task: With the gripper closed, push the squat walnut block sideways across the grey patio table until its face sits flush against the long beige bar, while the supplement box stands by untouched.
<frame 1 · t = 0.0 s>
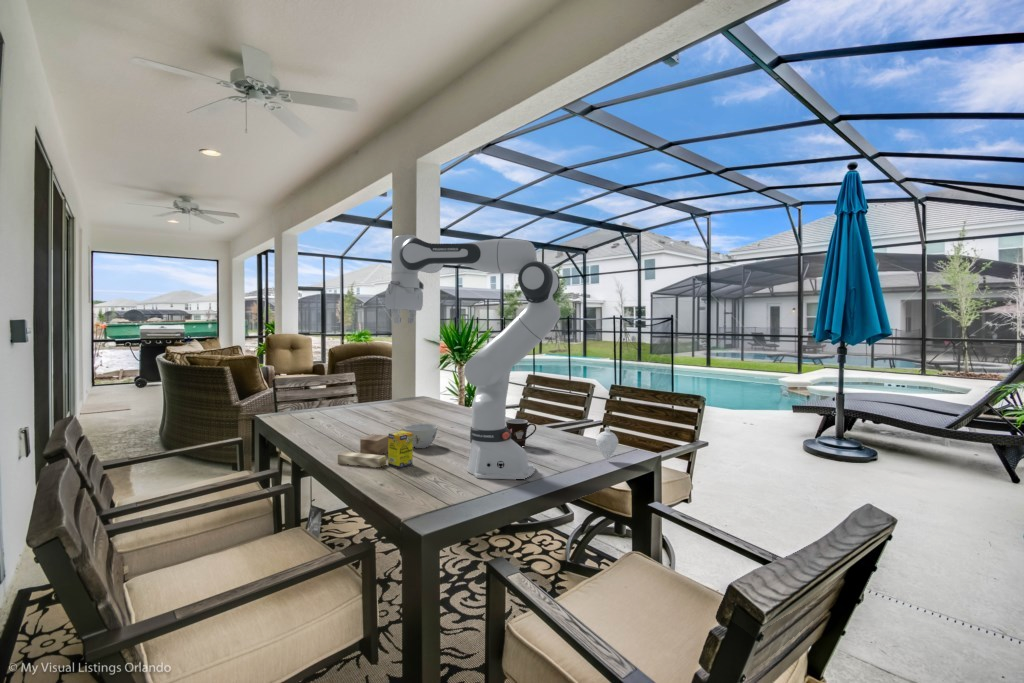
hand: (404, 323, 160), 48 cm above the table, tool pointing down, fingers open, 8 cm apart
supplement box: (400, 465, 158), on the table
coffee mug: (520, 447, 183), on the table
block: (374, 453, 172), on the table
beige long bar: (361, 463, 159), on the table
spinning top: (606, 462, 164), on the table
teacup: (418, 447, 182), on the table
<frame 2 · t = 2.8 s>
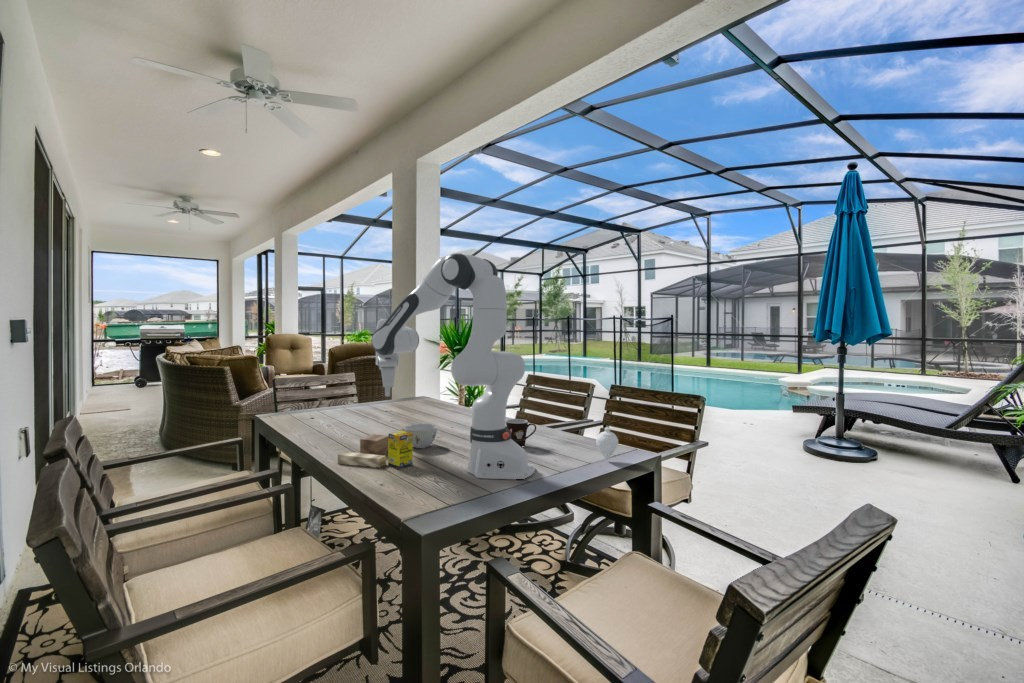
hand: (387, 396, 180), 20 cm above the table, tool pointing down, fingers closed
nothing on the table moved.
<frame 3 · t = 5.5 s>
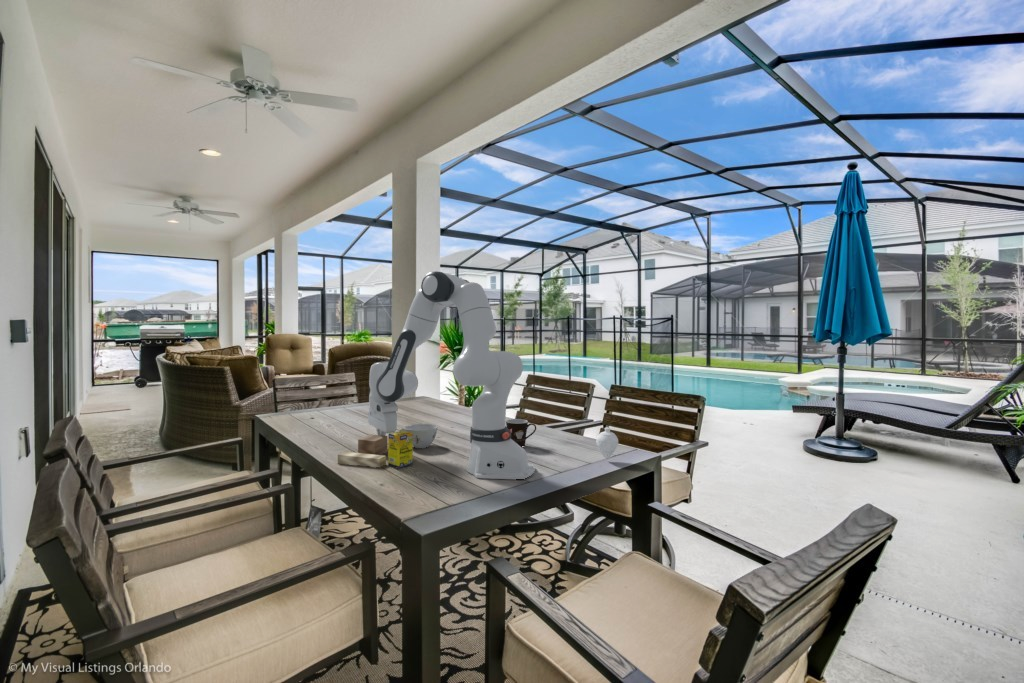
hand: (381, 440, 176), 4 cm above the table, tool pointing down, fingers closed
block: (373, 453, 171), on the table, touching gripper
everything else where it was.
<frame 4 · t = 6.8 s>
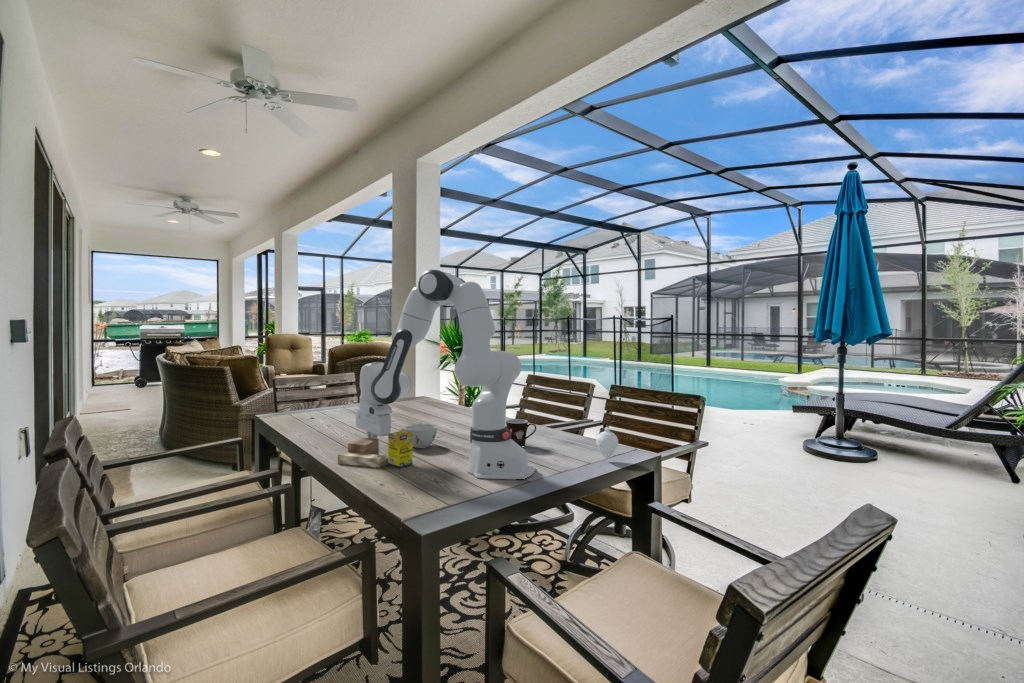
hand: (372, 443, 171), 4 cm above the table, tool pointing down, fingers closed
block: (363, 457, 166), on the table, touching beige long bar, gripper
everything else where it was.
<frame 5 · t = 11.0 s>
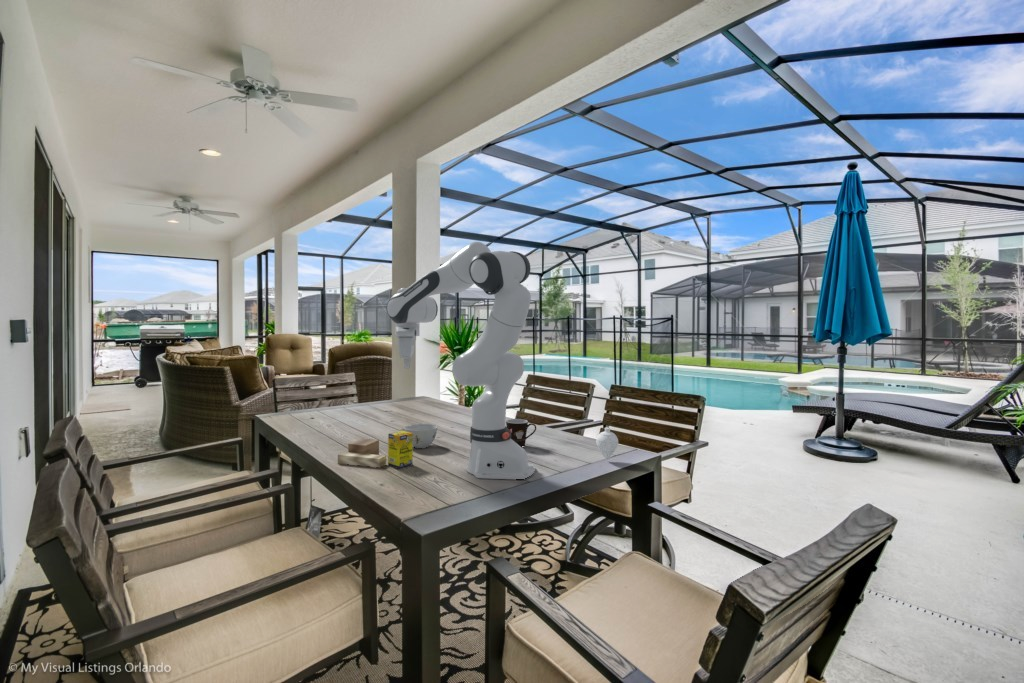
hand: (407, 368, 174), 31 cm above the table, tool pointing down, fingers closed
block: (363, 458, 166), on the table
everything else where it was.
at the end: block inside the target area on the table beside the beige long bar (2.2 cm from its centre), on the table; block tilted 0° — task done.
